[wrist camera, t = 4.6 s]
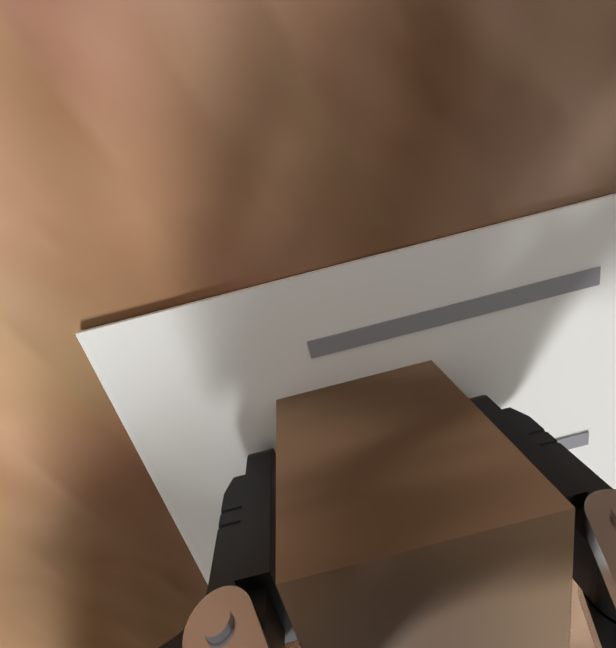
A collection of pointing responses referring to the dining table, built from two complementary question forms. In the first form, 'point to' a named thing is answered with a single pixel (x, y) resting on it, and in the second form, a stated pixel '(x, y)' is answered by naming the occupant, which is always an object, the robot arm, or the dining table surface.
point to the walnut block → (415, 521)
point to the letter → (373, 349)
